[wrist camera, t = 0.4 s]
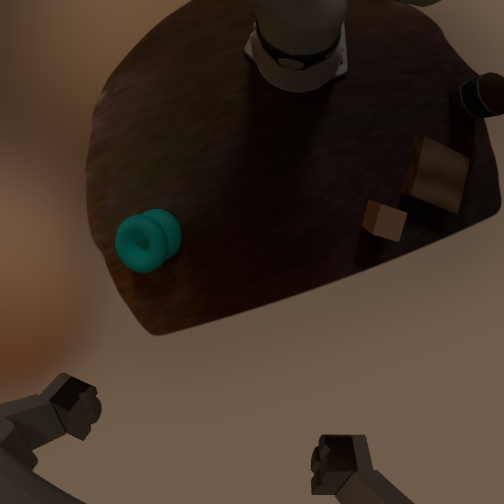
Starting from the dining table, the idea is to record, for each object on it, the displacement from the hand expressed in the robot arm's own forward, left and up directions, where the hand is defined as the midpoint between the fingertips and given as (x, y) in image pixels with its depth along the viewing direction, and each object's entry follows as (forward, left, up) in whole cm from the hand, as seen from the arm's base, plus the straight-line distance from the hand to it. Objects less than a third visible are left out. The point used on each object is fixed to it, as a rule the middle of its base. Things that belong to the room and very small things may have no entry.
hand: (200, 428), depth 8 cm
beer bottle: (-34, +33, -45) cm, 66 cm away
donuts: (+8, -20, -45) cm, 50 cm away
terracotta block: (-5, +19, -45) cm, 49 cm away
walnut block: (-16, +28, -45) cm, 56 cm away
